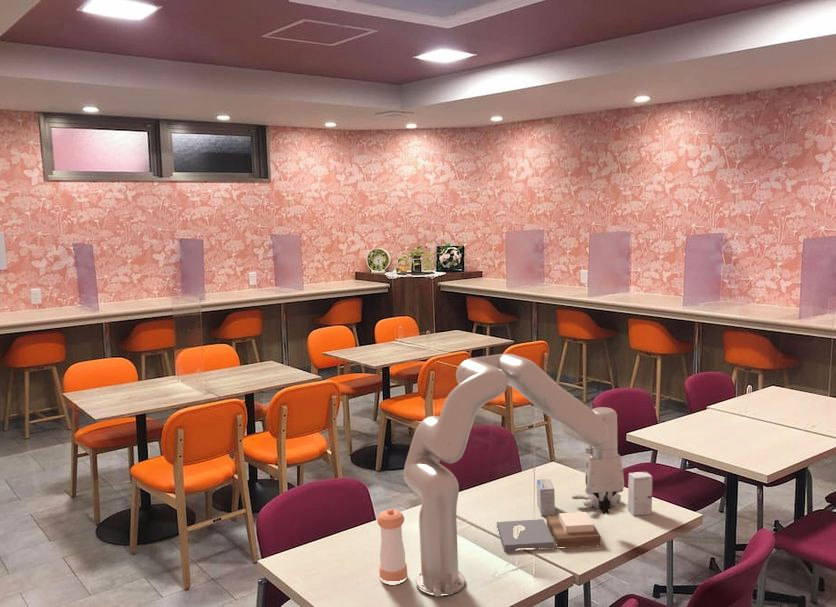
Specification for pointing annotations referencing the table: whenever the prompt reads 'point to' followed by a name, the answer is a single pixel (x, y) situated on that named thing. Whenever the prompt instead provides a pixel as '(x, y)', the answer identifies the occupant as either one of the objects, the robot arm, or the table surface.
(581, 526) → the coaster
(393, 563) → the pepper shaker
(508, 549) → the mat
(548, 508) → the medicine box
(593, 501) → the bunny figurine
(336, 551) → the table surface
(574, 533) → the serving board
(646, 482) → the skincare box
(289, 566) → the table surface
